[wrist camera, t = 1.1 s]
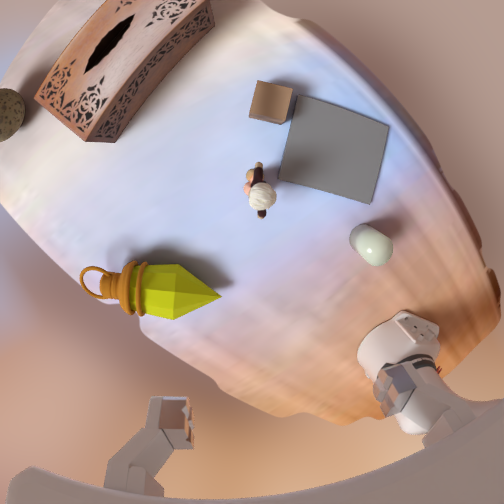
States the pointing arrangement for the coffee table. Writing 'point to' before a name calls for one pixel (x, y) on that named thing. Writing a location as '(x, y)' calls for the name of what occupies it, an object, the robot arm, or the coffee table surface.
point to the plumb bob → (153, 289)
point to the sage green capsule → (371, 244)
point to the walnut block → (270, 102)
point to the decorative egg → (10, 113)
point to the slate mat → (333, 150)
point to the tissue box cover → (120, 62)
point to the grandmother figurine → (259, 191)
